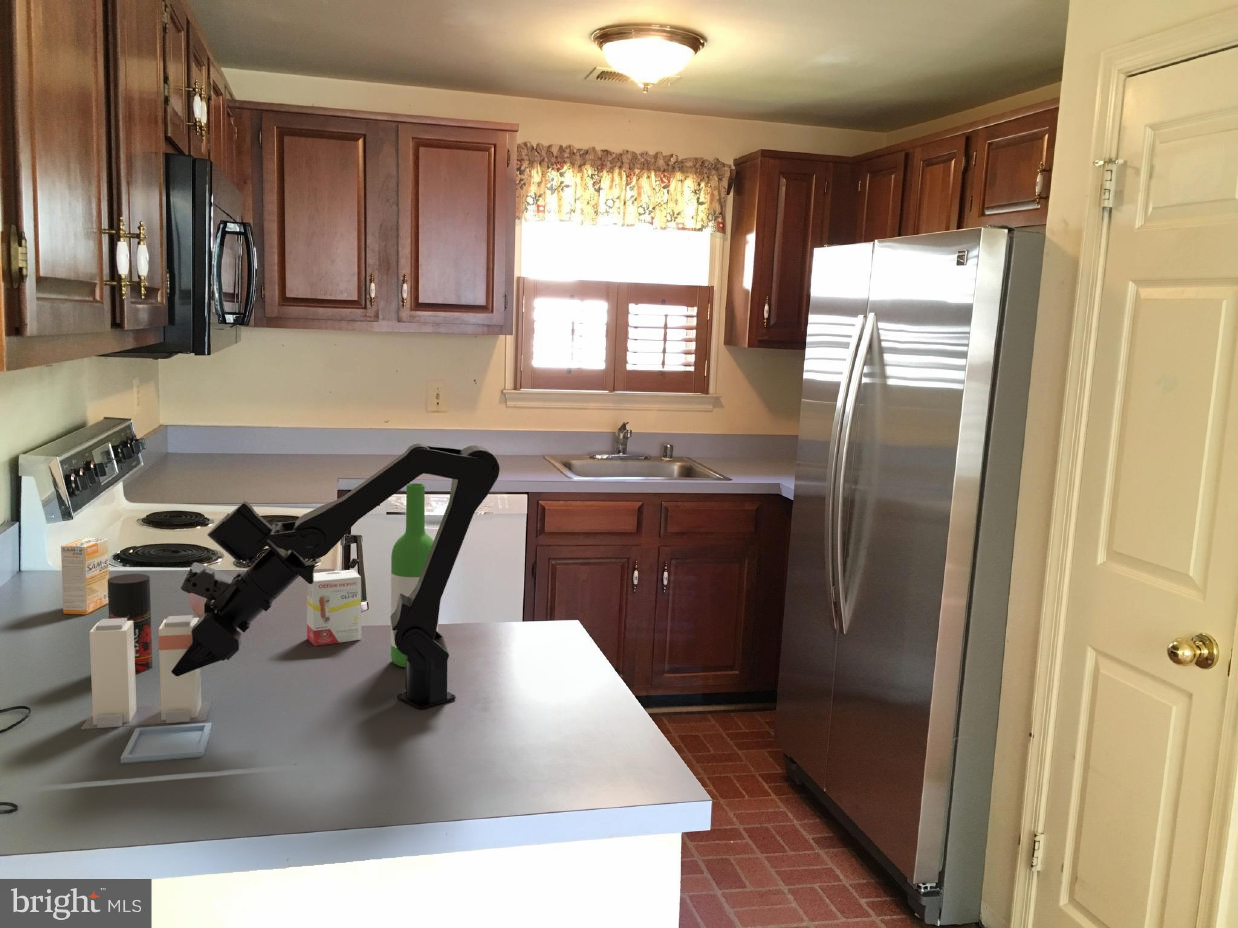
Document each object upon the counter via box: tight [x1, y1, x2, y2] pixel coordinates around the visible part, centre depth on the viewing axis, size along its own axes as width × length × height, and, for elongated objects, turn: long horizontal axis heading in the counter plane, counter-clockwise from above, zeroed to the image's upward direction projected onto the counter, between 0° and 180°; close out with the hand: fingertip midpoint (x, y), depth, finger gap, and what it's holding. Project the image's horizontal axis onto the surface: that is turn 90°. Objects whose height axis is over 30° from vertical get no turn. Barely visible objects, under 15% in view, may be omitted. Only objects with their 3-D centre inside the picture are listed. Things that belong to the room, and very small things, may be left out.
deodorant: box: [107, 573, 154, 675], centre depth 153 cm, size 6×6×15 cm
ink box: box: [306, 569, 362, 647], centre depth 172 cm, size 9×5×12 cm, turn 120°
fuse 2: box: [158, 614, 202, 720], centre depth 136 cm, size 5×5×14 cm
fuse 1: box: [89, 618, 137, 725], centre depth 134 cm, size 4×4×14 cm
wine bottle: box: [390, 482, 439, 668], centre depth 161 cm, size 8×8×30 cm
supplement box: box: [60, 537, 110, 615], centre depth 185 cm, size 8×5×13 cm, turn 179°
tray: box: [120, 722, 213, 765], centre depth 127 cm, size 9×9×1 cm
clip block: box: [80, 701, 212, 730], centre depth 136 cm, size 16×7×2 cm, turn 106°
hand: (179, 662), depth 136 cm, fingers open, 9 cm apart
